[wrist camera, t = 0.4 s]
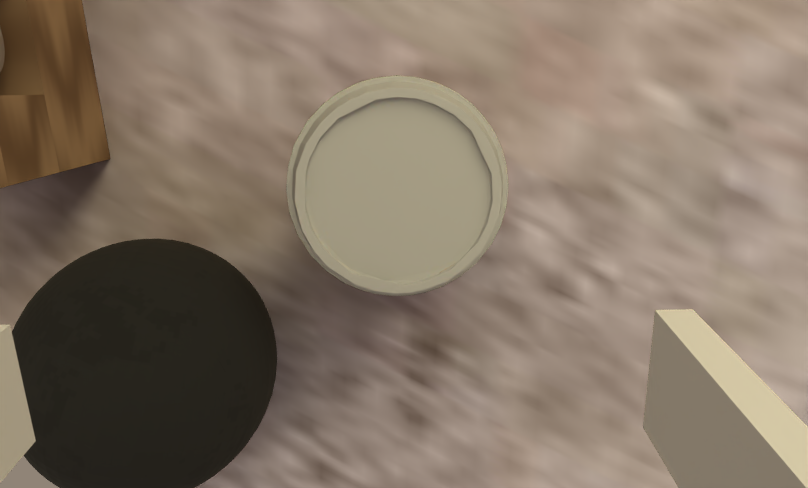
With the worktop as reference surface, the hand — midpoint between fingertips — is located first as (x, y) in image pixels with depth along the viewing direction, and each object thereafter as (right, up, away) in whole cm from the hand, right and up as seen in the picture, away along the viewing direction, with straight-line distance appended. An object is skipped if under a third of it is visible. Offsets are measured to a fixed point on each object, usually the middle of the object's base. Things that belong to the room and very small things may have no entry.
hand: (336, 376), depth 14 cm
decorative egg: (-11, -2, +28) cm, 30 cm away
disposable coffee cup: (+1, +7, +26) cm, 27 cm away
